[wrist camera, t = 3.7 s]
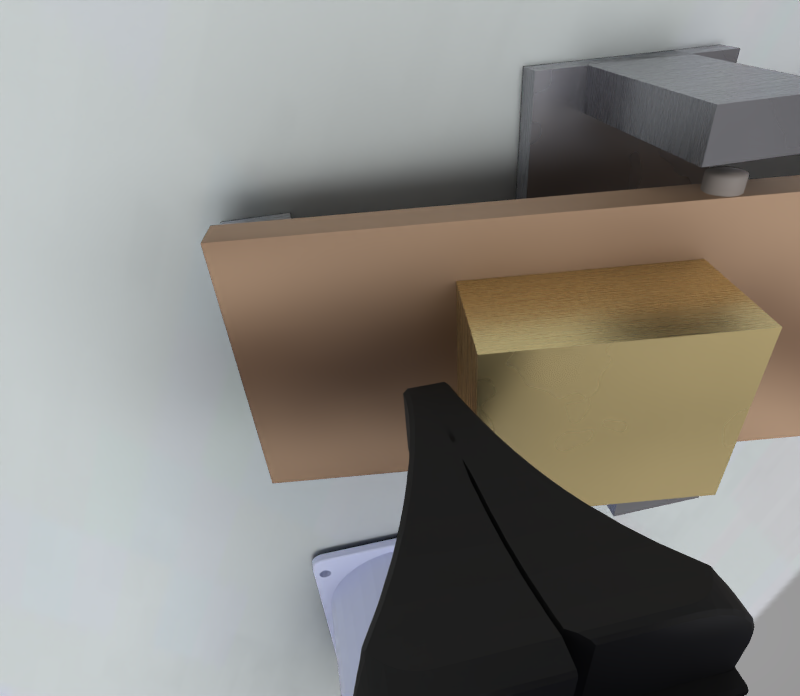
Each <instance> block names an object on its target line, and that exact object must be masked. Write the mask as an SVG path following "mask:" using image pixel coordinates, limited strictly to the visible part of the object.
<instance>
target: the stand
mask: <svg viewBox="0 0 800 696" xmlns="http://www.w3.org/2000/svg"><path fill="white" fill-rule="evenodd" d="M739 50H740V48H736V47H731V46H725V45H715V46H706V47H697V48H688V49H679V50H670V51H661V52H652V53H643V54H633V55H624V56H615V57H606V58H597V59H588V60H579V61H570V62H561V63H552V64H543V65H534V66H525V67H524V68H523V86H522V103H521V120H520V138H519V155H518V172H517V190H516V199H526V198H538V197H549V196H561V195H573V194H584V193H596V192H607V191H619V190H631V189H642V188H654V187H666V186H677V185H689V184H701V183H702V180H703V176H704V172H705V170H706V169H707V168H709V166H717V165H724V164H731V163H738V162H745V161H752V160H759V159H766V158H773V157H781V156H788V155H795V154H800V76H797V75H792V74H787V73H782V72H777V71H773V70H768V69H763V68H758V67H753V66H748V65H743V64H739V63H736V62H737V58H738V54H739ZM281 219H291V215H290V213H284V214H277V215H269V216H262V217H255V218H247V219H240V220H233V221H226V222H221V223H220V225H223V224H235V223H247V222H258V221H270V220H281ZM698 497H699V496H695V497H684V498H673V499H662V500H652V501H641V502H630V503H619V504H608V505H607V506H608V508H609V509H610V511H611V512H612V514H613V516H617V515H622V514H626V513H631V512H635V511H640V510H644V509H649V508H653V507H658V506H662V505H667V504H671V503H676V502H680V501H685V500H689V499H694V498H698Z"/></svg>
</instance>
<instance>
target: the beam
mask: <svg viewBox="0 0 800 696" xmlns="http://www.w3.org/2000/svg"><path fill="white" fill-rule="evenodd" d="M748 177H749V173H748V172H747V171H745V170H743V169H740V168H735V167H727V166H717V167H710V168H707V169H706V170H705V172H704V176H703V180H702V183H701V184H689V185H677V186H666V187H654V188H642V189H631V190H619V191H607V192H596V193H584V194H573V195H561V196H549V197H538V198H526V199H514V200H503V201H491V202H479V203H468V204H456V205H444V206H433V207H421V208H410V209H398V210H386V211H375V212H363V213H351V214H340V215H328V216H316V217H305V218H293V219H281V220H270V221H258V222H247V223H235V224H223V225H212V226H210V227H209V229H208V231H207V233H206V235H205V236H204V238H203V240H202V242H201V247H202V250H203V253H204V257H205V260H206V263H207V266H208V270H209V273H210V276H211V280H212V283H213V286H214V290H215V293H216V296H217V300H218V303H219V306H220V310H221V313H222V316H223V320H224V323H225V326H226V330H227V333H228V336H229V340H230V343H231V346H232V350H233V353H234V356H235V360H236V363H237V366H238V370H239V373H240V376H241V380H242V383H243V386H244V390H245V393H246V396H247V400H248V403H249V406H250V410H251V413H252V416H253V420H254V423H255V426H256V430H257V433H258V436H259V440H260V443H261V446H262V450H263V453H264V456H265V460H266V463H267V466H268V470H269V473H270V476H271V479H272V483H282V482H293V481H304V480H315V479H326V478H337V477H348V476H359V475H370V474H382V473H393V472H404V471H408V465H409V450H408V442H407V431H406V420H405V409H404V397H403V393H404V392H405V391H406V390H407V389H408V388H413V387H419V386H424V385H429V384H435V383H440V382H446V383H447V384H449V385H450V386H451V388H452V389H453V390H454V391H455V392H456V393H457V315H456V281H465V280H476V279H487V278H498V277H509V276H521V275H532V274H543V273H554V272H565V271H576V270H587V269H598V268H609V267H620V266H632V265H643V264H654V263H665V262H676V261H687V260H698V259H705V260H706V261H707V262H708V263H710V264H711V265H712V266H713V267H714V268H715V269H716V270H718V271H719V272H720V273H721V274H722V275H723V276H724V277H726V278H727V279H728V280H729V281H730V282H731V283H732V284H734V285H735V286H736V287H737V288H738V289H739V290H740V291H742V292H743V293H744V294H745V295H746V296H747V297H748V298H750V299H751V300H752V301H753V302H754V303H755V304H756V305H758V306H759V307H760V308H761V309H762V310H763V311H764V312H766V313H767V314H768V315H769V316H770V317H771V318H772V319H774V320H775V321H776V322H777V323H778V324H779V325H780V326H782V329H781V332H780V334H779V337H778V339H777V342H776V344H775V347H774V349H773V352H772V354H771V357H770V359H769V362H768V364H767V367H766V369H765V372H764V374H763V377H762V379H761V382H760V384H759V387H758V389H757V391H756V394H755V396H754V399H753V401H752V404H751V406H750V409H749V411H748V414H747V416H746V419H745V421H744V424H743V426H742V429H741V431H740V434H739V436H738V439H737V441H748V440H759V439H770V438H781V437H793V436H800V175H794V176H782V177H770V178H759V179H748ZM737 441H736V442H737Z"/></svg>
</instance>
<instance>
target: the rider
mask: <svg viewBox="0 0 800 696" xmlns="http://www.w3.org/2000/svg"><path fill="white" fill-rule="evenodd" d="M456 315H457V395H458V396H459V397H460V398H461V399H462V400H463V401H464V402H465V403H466V405H467V406H468V407H469V408H470V409H471V410H472V411H473V412H474V413H475V414H476V415H477V416H478V417H479V418H480V419H481V420H482V421H483V422H484V423H485V424H486V425H487V426H488V427H489V428H490V429H491V430H492V431H493V432H494V433H496V434H497V435H498V436H499V437H500V438H501V439H502V440H503V441H504V442H505V443H506V444H507V445H509V446H510V447H511V448H512V449H513V450H514V451H515V452H517V453H518V454H519V455H520V456H521V457H523V458H524V459H525V460H526V461H527V462H529V463H530V464H531V465H532V466H534V467H535V468H536V469H537V470H539V471H540V472H541V473H543V474H544V475H545V476H547V477H548V478H549V479H551V480H552V481H553V482H555V483H556V484H558V485H559V486H560V487H562V488H563V489H565V490H566V491H568V492H569V493H571V494H572V495H574V496H575V497H577V498H578V499H580V500H581V501H583V502H584V503H586V504H588V505H589V506H598V505H608V504H619V503H630V502H641V501H652V500H662V499H673V498H684V497H695V496H705V495H715V494H716V491H717V489H718V486H719V484H720V481H721V479H722V476H723V474H724V471H725V469H726V466H727V464H728V461H729V459H730V456H731V454H732V451H733V449H734V446H735V444H736V441H737V439H738V436H739V434H740V431H741V429H742V426H743V424H744V421H745V419H746V416H747V414H748V411H749V409H750V406H751V404H752V401H753V399H754V396H755V394H756V391H757V389H758V387H759V384H760V382H761V379H762V377H763V374H764V372H765V369H766V367H767V364H768V362H769V359H770V357H771V354H772V352H773V349H774V347H775V344H776V342H777V339H778V337H779V334H780V332H781V329H782V326H780V325H779V324H778V323H777V322H776V321H775V320H774V319H772V318H771V317H770V316H769V315H768V314H767V313H766V312H764V311H763V310H762V309H761V308H760V307H759V306H758V305H756V304H755V303H754V302H753V301H752V300H751V299H750V298H748V297H747V296H746V295H745V294H744V293H743V292H742V291H740V290H739V289H738V288H737V287H736V286H735V285H734V284H732V283H731V282H730V281H729V280H728V279H727V278H726V277H724V276H723V275H722V274H721V273H720V272H719V271H718V270H716V269H715V268H714V267H713V266H712V265H711V264H710V263H708V262H707V261H706V260H705V259H698V260H687V261H676V262H665V263H654V264H643V265H632V266H620V267H609V268H598V269H587V270H576V271H565V272H554V273H543V274H532V275H521V276H509V277H498V278H487V279H476V280H465V281H456Z"/></svg>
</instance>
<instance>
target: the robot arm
mask: <svg viewBox="0 0 800 696" xmlns="http://www.w3.org/2000/svg"><path fill="white" fill-rule="evenodd" d="M403 397H404V409H405V420H406V431H407V442H408V450H409V465H408V475H407V485H406V492H405V499H404V505H403V510H402V516H401V521H400V526H399V530H398V535H397V538H394V539H390V540H385V541H380V542H376V543H371V544H366V545H362V546H357V547H353V548H348V549H343V550H339V551H334V552H329V553H325V554H321V555H318V556H316V557H315V558H314V559H313V560H312V567H313V572H314V576H315V580H316V583H317V587H318V590H319V594H320V598H321V601H322V605H323V609H324V612H325V616H326V620H327V623H328V627H329V631H330V634H331V638H332V641H333V645H334V649H335V652H336V656H337V662H338V672H339V681H340V691H341V696H744V695H746V694H747V693H748V687H747V685H746V683H745V682H744V680H743V679H742V677H741V676H740V674H739V673H738V671H737V670H736V668H735V665H736V664H737V662H738V660H739V659H740V657H741V655H742V654H743V652H744V650H745V648H746V647H747V645H748V644H749V642H750V639H751V637H752V634H753V630H754V623H753V618H752V616H751V615H750V614H749V612H748V611H747V610H746V608H745V607H744V606H743V604H742V603H741V602H740V600H739V599H738V598H737V596H736V595H735V594H734V593H733V591H732V590H731V589H730V588H729V586H728V585H727V584H726V583H725V582H724V581H723V580H722V579H721V578H720V577H719V575H718V574H717V573H716V572H715V571H714V570H713V568H712V567H711V566H709V565H707V564H705V563H703V562H700V561H698V560H696V559H693V558H691V557H689V556H687V555H684V554H682V553H680V552H678V551H675V550H673V549H671V548H668V547H666V546H664V545H662V544H659V543H657V542H655V541H653V540H651V539H649V538H647V537H645V536H643V535H641V534H639V533H637V532H635V531H633V530H631V529H630V528H628V527H626V526H624V525H622V524H620V523H618V522H617V521H615V520H613V519H612V518H610V517H608V516H606V515H605V514H603V513H601V512H600V511H598V510H596V509H594V508H593V507H591V506H589V505H588V504H586V503H584V502H583V501H581V500H580V499H578V498H577V497H575V496H574V495H572V494H571V493H569V492H568V491H566V490H565V489H563V488H562V487H560V486H559V485H558V484H556V483H555V482H553V481H552V480H551V479H549V478H548V477H547V476H545V475H544V474H543V473H541V472H540V471H539V470H537V469H536V468H535V467H534V466H532V465H531V464H530V463H529V462H527V461H526V460H525V459H524V458H523V457H521V456H520V455H519V454H518V453H517V452H515V451H514V450H513V449H512V448H511V447H510V446H509V445H507V444H506V443H505V442H504V441H503V440H502V439H501V438H500V437H499V436H498V435H497V434H496V433H494V432H493V431H492V430H491V429H490V428H489V427H488V426H487V425H486V424H485V423H484V422H483V421H482V420H481V419H480V418H479V417H478V416H477V415H476V414H475V413H474V412H473V411H472V410H471V409H470V408H469V407H468V406H467V405H466V403H465V402H464V401H463V400H462V399H461V398H460V397H459V396H458V395H457V393H456V392H455V391H454V390H453V389H452V388H451V386H450V385H449V384H447V383H446V382H440V383H435V384H429V385H424V386H419V387H413V388H408V389H407V390H406V391H405V392H404V393H403Z"/></svg>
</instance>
